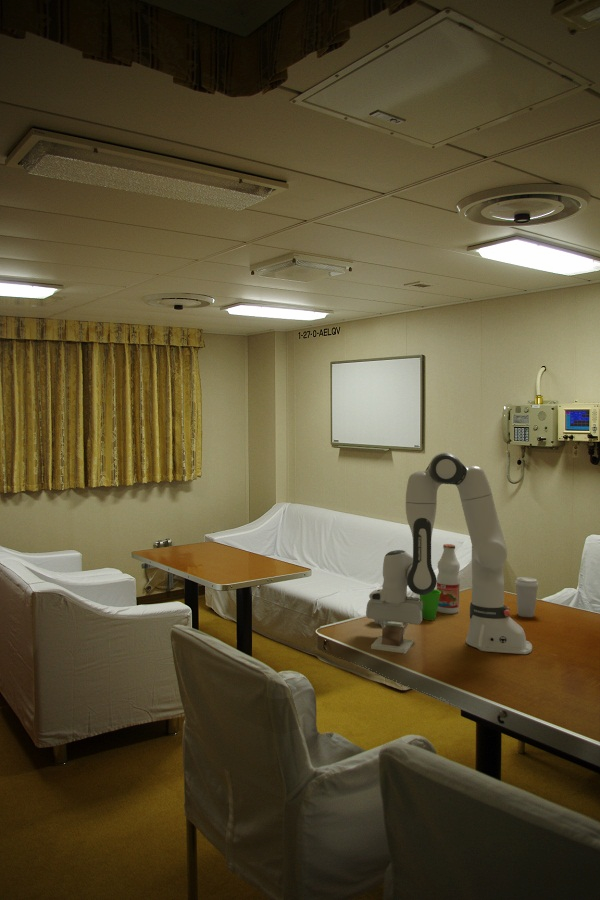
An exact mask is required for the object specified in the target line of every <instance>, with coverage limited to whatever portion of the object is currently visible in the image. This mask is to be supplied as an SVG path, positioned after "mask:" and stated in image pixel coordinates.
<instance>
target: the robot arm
mask: <svg viewBox="0 0 600 900" xmlns="http://www.w3.org/2000/svg"><path fill="white" fill-rule="evenodd" d="M443 484H444V485H455V486H456V487H457V491H458V493H459V498H460V502H461V507H462V510H463V511H462V512H463V515H464V520H465V524H466V527H467V530H468V534H469V537H470V538H469V539H470V541H471V542H470V543H471V602H470V603H469V619H470V620H469V627H468V632H467V636H466V638H465V643H466V644H467V645H469V646H470V647H473V648H476V649H478V650H479V651H481V652H492V653H505V654H515V655H516V654H517V655H528V654H530V653H532V650H533V645H532V643H531V642H530V641H528V640H527V639H526V638H527V637H526V633H525V631H524V628H523V627H522V626H521V625H520V624H518V622H516V621H515V620H514V619H513V618H511V617H510V615H511V608H510V607H509V606H506V605H505V604H504V603H505V576H504V563H505V562H506V560H507V559H508V558H507V557H508V549H507V546H506V541H505V537H504V534H503V531H502V527H501V524H500V519H499V517H498V513H497V508H496V504H495V501H494V500H495V499H494V497H493V496H494V495H493V491H492V488H491V486H490V482H489V479H488V477H487V475H486V473H485V470H484V469H483V468H482V467H481V466H478V465H469V466H465V465H464V464H463V463H462V462H461V461H460V459H459V458H458V457H457V456H456V455H455V454H453V453H451V452H447V451H445V452H440V453H437V454H436V455H434V456H433V457H432V459H431V460H430V462H429V464H428V466H427V468H426V469H425V470H422V471H415V472H413V473H411V474H410V475H409V477H408V481H407V484H406V491H405V514H406V520H407V523H408V526H409V529H410V532H411V536H412V555H411V554H409V553H407V551H405V550H403V549H401V550H400V549H397V550H392V551H388V552H387V553H386V554H385V556H384V558H383V564H382V578H383V581H382V588H380V589H375V590H373V591H371V592H370V593H369V595H368V597H369V600H368V602H367V603H366V611H365V616H366V617H367V619H371V620H374V619H378V620H380V624H381V625H380V626H381V628H382V629H383V628H384V627H385V625H384V623H383V622H384V621H385V620H386V621H391V622H397V623H402V627H403V636H404V635H405V633H406V629H407V626H408V625H409V624H413V625H420V624H421V623H422V622H423V617H422V609H423V602H422V601H421V600H420V597H413V596H408V594H407V593H408V589H409V590H410V591H411V592H412V593H413V594H416V595H418V596H420V595H426V594H429V593H430V592H432V591H433V590H434V589H435V588H436V587H437V575H436V572H435V571H434V568H433V565H432V535H433V529H434V525H435V520H436V515H437V503H438V502H437V501H438V499H437V497H438V490H439V487H440V486H441V485H443ZM407 587H408V588H407Z"/></svg>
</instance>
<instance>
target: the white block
mask: <svg viewBox="0 0 600 900" xmlns="http://www.w3.org/2000/svg"><path fill="white" fill-rule="evenodd" d="M373 620H374V624H375V625H380V626H381V624H380V620H378V619H373ZM388 622H392V621H386V620H385V621H384V622H383V623H384V625H386V624H387V623H388Z"/></svg>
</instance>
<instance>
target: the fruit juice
mask: <svg viewBox="0 0 600 900" xmlns="http://www.w3.org/2000/svg"><path fill="white" fill-rule="evenodd" d="M442 549H443V551H442V555H441V557H440V559H439V560H438V561H437V570H438V573H437V575H436V579H437V583H436V590H439V591H441V593H440V597H439V603H438V608H437V612H439V613H441V614H449V615H450V614H457V613H459V612H460V589H461V587H460V586H461V585H460V584H461V581H460V574H459V571H460V568H461V565H460V562H459V561H458V559H457V557H456V556H457V555H456V552H455V549H456V545H455V544H452V543H450V544H449V543H444V544H443V547H442Z"/></svg>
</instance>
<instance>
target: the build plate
mask: <svg viewBox="0 0 600 900" xmlns="http://www.w3.org/2000/svg"><path fill="white" fill-rule="evenodd" d="M413 644H414V640H413V639H406V638H403V642H402V643H401V644H400V646H395V645H388V644H382V635H379V636H378V637H377V639H375V640H374V642H373V643H371V645H370V649H371V650H378V651H383V652H384V651H385V652H392V653H398V654H407V652H408V651H409V650H410V649H411V647H412V646H413Z"/></svg>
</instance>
